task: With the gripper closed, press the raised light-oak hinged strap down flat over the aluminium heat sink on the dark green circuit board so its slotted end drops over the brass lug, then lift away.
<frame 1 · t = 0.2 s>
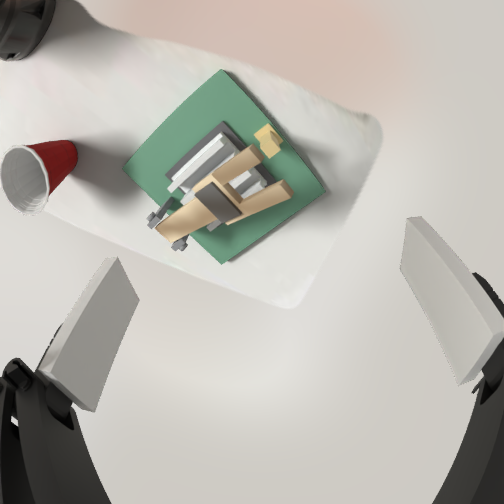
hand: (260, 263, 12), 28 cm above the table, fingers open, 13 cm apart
board: (221, 172, 38), on the table
strap: (202, 211, 28), point 12 cm above the table, hinge at 30.0°
plastic cup: (67, 156, 36), on the table
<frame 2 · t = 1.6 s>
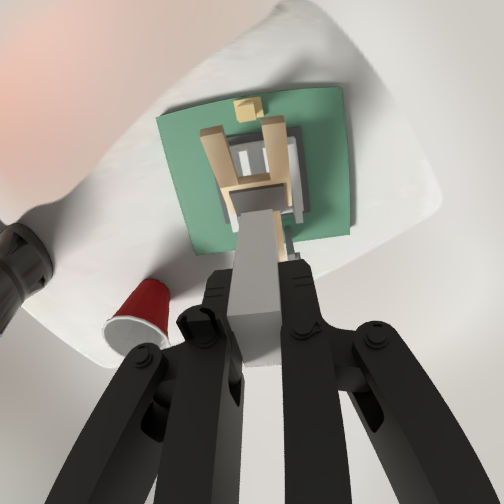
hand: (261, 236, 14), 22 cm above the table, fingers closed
board: (260, 172, 34), on the table
strap: (263, 219, 24), point 12 cm above the table, hinge at 30.0°
plastic cup: (156, 290, 46), on the table
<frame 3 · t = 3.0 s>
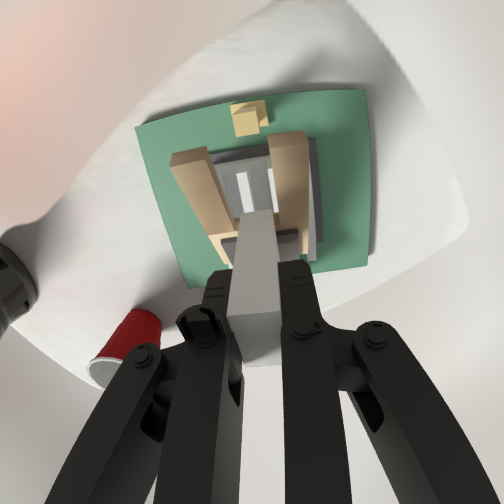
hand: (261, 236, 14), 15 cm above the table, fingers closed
board: (264, 193, 28), on the table
strap: (268, 267, 18), point 12 cm above the table, hinge at 29.1°, touching gripper
plastic cup: (146, 320, 40), on the table
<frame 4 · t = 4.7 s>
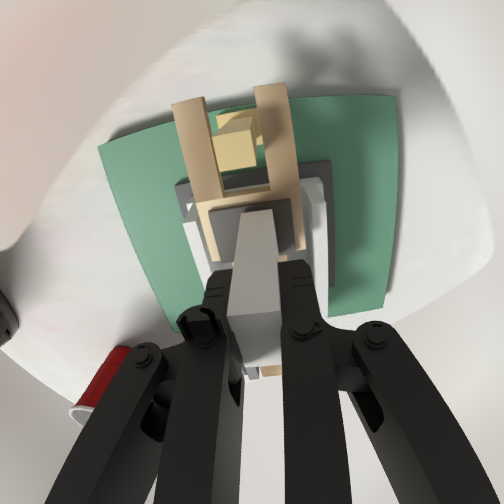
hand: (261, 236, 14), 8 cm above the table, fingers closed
board: (262, 228, 23), on the table
strap: (263, 278, 16), point 7 cm above the table, hinge at -0.4°, touching gripper
plastic cup: (131, 357, 34), on the table
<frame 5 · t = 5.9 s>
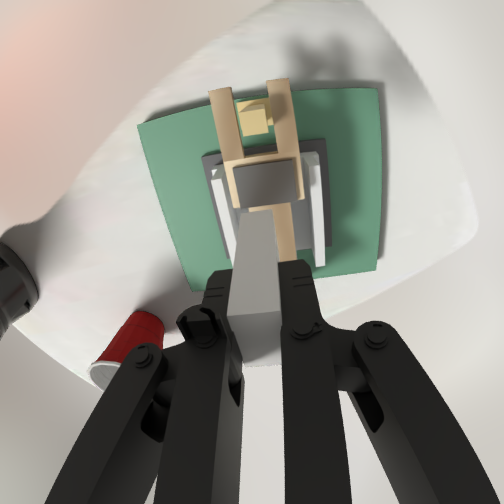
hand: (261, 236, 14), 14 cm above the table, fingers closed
board: (271, 195, 27), on the table
strap: (272, 223, 20), point 7 cm above the table, hinge at -0.4°
plastic cup: (148, 322, 39), on the table
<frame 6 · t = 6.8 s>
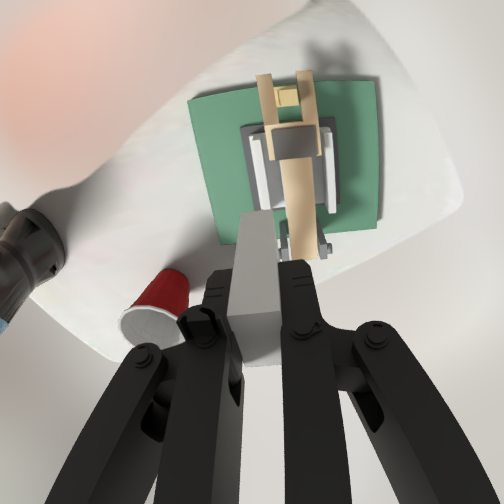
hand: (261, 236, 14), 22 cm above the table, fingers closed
board: (292, 161, 33), on the table
strap: (297, 173, 26), point 7 cm above the table, hinge at -0.4°
plastic cup: (174, 281, 45), on the table
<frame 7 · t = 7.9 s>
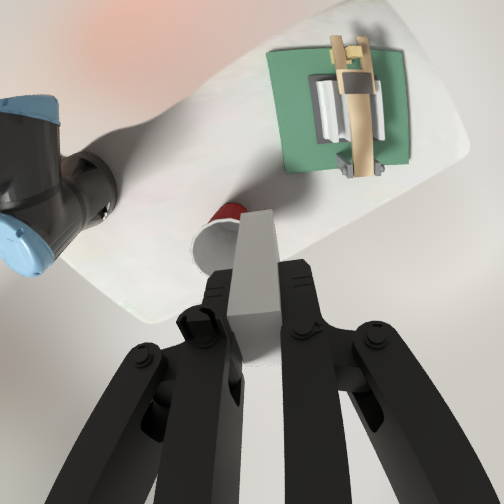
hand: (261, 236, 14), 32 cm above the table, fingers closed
board: (344, 107, 37), on the table
strap: (359, 106, 31), point 7 cm above the table, hinge at -0.4°
plastic cup: (234, 216, 49), on the table
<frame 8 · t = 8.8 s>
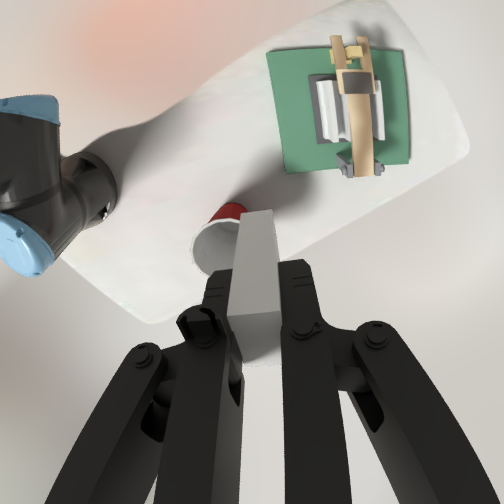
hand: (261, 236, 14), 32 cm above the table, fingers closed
board: (344, 107, 37), on the table
strap: (359, 105, 31), point 7 cm above the table, hinge at -0.4°
plastic cup: (234, 216, 49), on the table
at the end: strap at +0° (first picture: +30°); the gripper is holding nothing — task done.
